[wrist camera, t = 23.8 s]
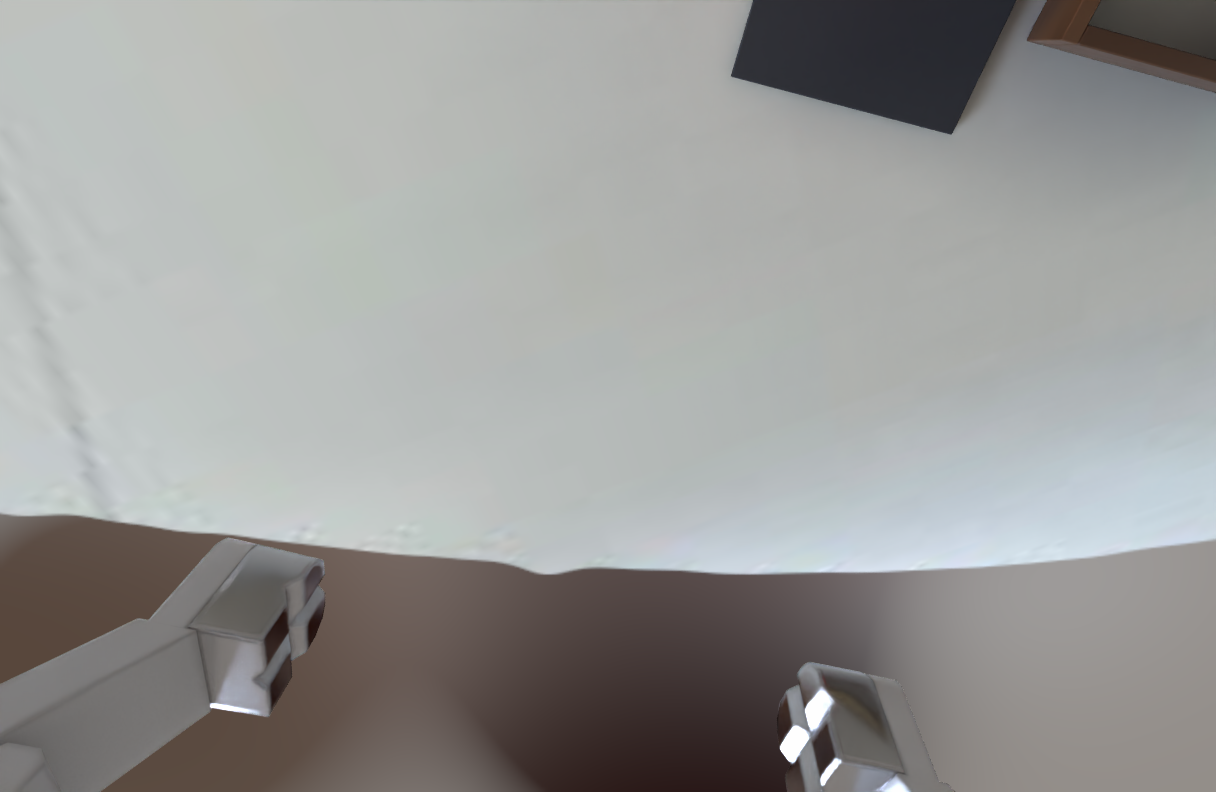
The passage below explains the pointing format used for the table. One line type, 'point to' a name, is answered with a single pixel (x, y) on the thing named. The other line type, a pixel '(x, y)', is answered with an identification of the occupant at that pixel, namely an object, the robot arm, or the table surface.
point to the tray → (1117, 45)
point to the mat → (874, 53)
